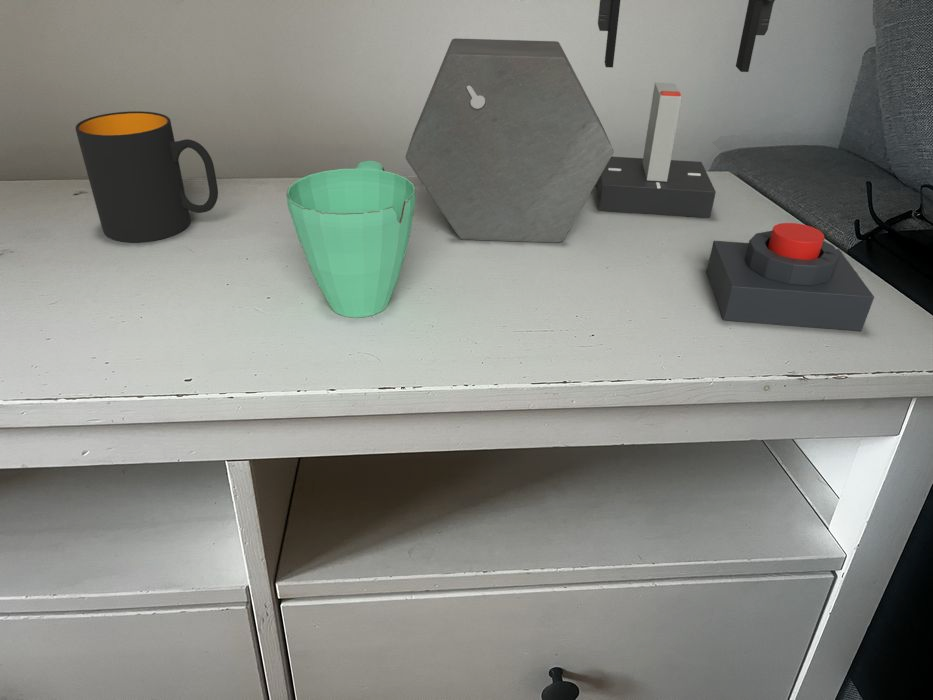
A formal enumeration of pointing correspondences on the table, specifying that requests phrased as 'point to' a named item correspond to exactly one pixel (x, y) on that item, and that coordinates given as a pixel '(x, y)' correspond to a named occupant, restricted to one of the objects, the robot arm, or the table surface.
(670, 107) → the upright gray panel
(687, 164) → the lever base
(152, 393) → the table surface
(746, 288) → the button block
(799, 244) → the button
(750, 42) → the robot arm
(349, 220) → the mug
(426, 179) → the grey hexagonal block
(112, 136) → the mug
